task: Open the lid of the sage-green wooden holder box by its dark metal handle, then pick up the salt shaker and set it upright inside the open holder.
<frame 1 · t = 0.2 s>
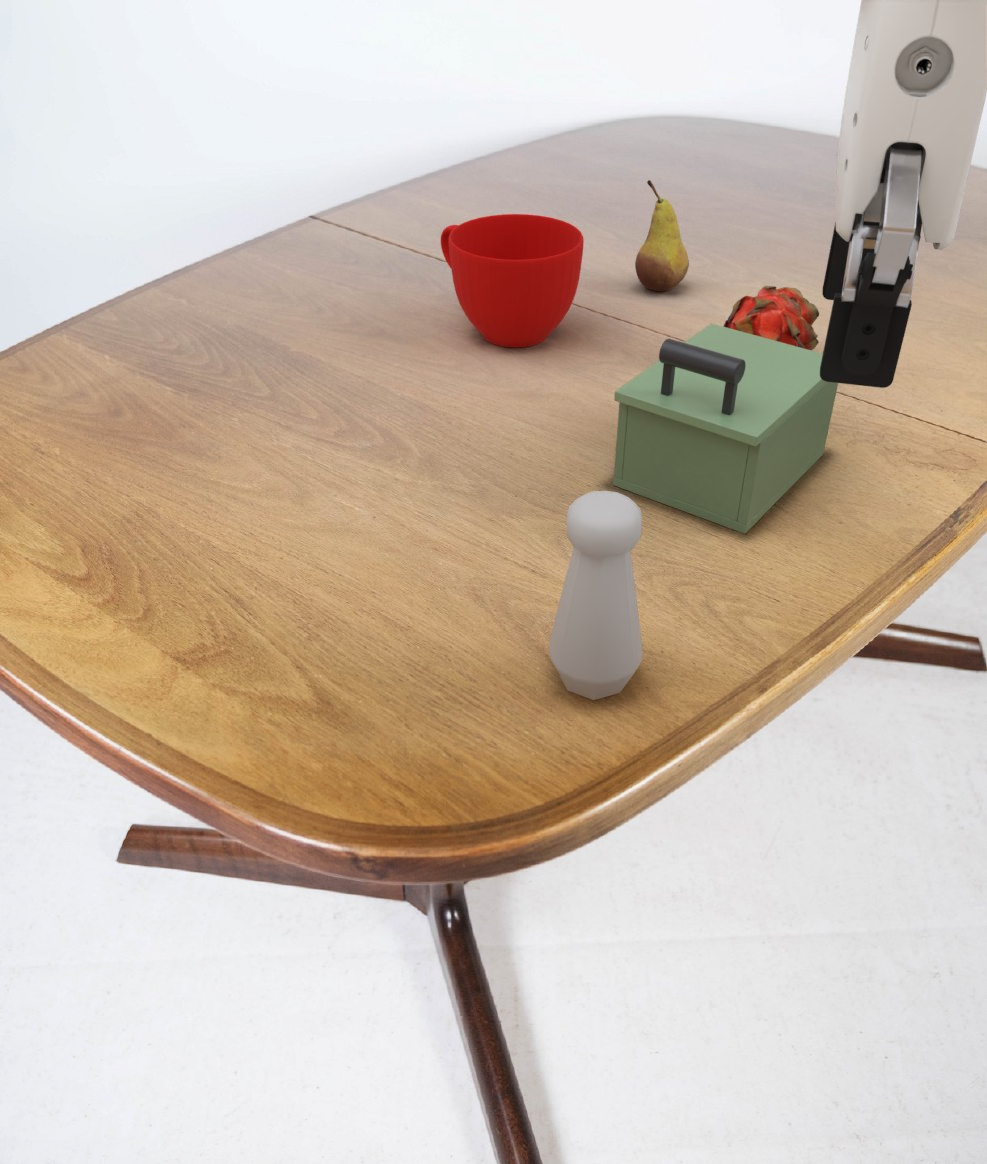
hand: (853, 338, 53), 23 cm above the table, tool pointing down, fingers open, 9 cm apart
salt shaker: (593, 680, 68), on the table
fruit: (659, 290, 119), on the table
holder: (720, 469, 88), on the table
dragon fruit: (764, 374, 102), on the table
lid: (735, 354, 81), point 10 cm above the table, hinge at 0.0°
ceramic cup: (501, 329, 110), on the table
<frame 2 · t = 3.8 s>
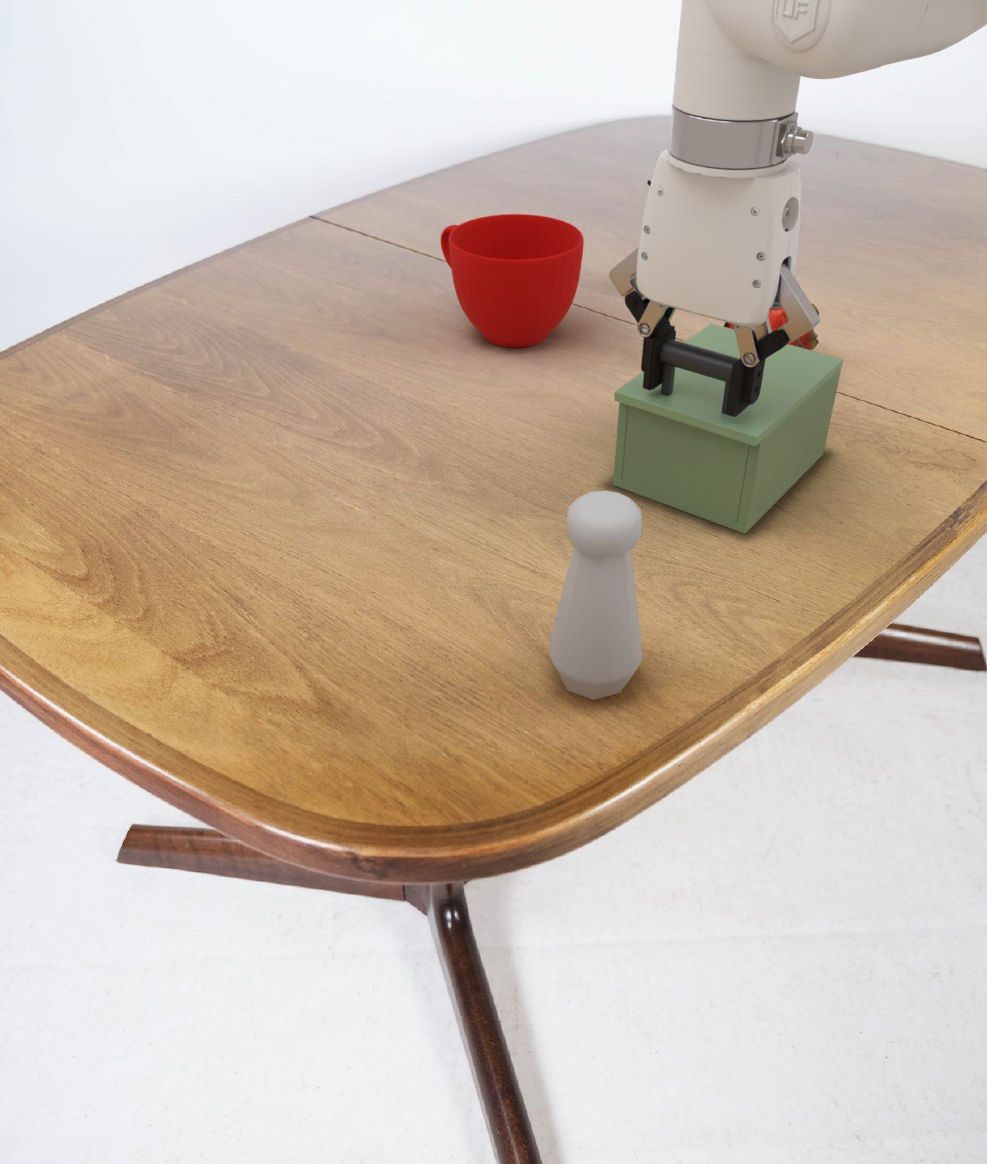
hand: (697, 393, 78), 9 cm above the table, tool pointing down, fingers closed on lid, 6 cm apart
lid: (735, 354, 81), point 10 cm above the table, hinge at 0.0°, touching gripper
everything else where it was.
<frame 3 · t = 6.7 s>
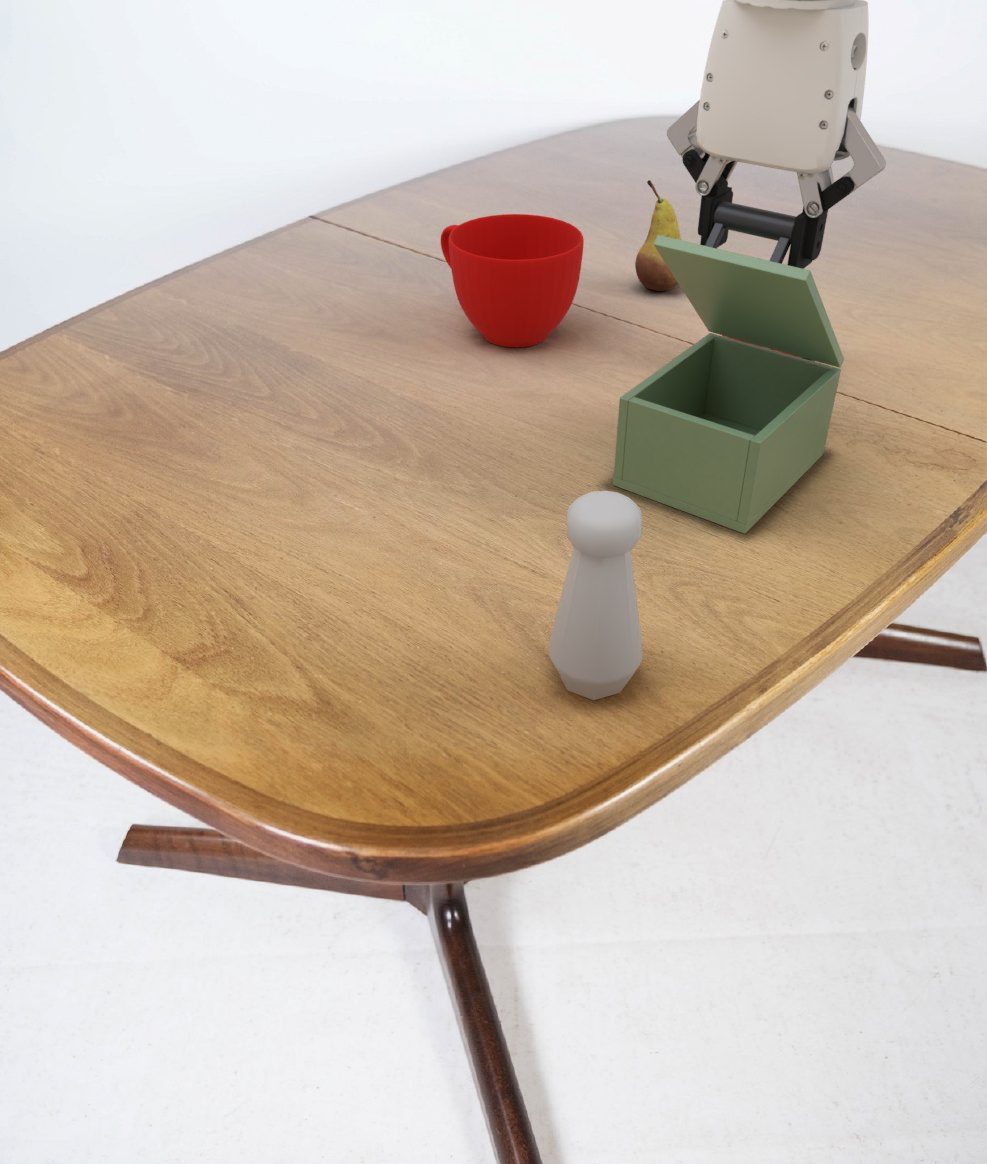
hand: (755, 254, 78), 18 cm above the table, tool pointing down, fingers closed on lid, 6 cm apart
lid: (765, 279, 81), point 15 cm above the table, hinge at 43.7°, touching gripper
everything else where it was.
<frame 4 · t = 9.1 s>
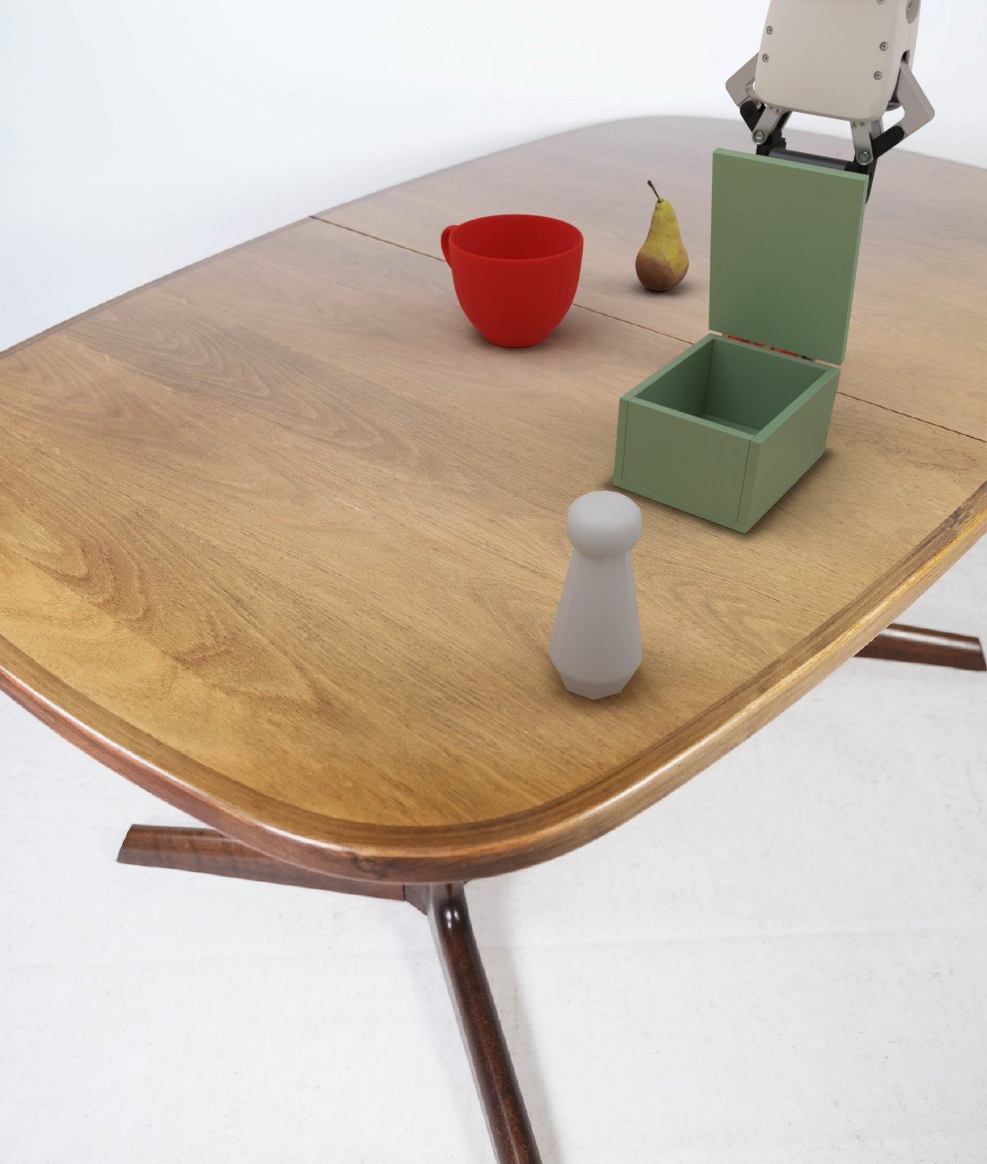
hand: (806, 202, 82), 19 cm above the table, tool pointing down, fingers closed on lid, 6 cm apart
lid: (793, 246, 83), point 16 cm above the table, hinge at 78.2°, touching gripper
everything else where it was.
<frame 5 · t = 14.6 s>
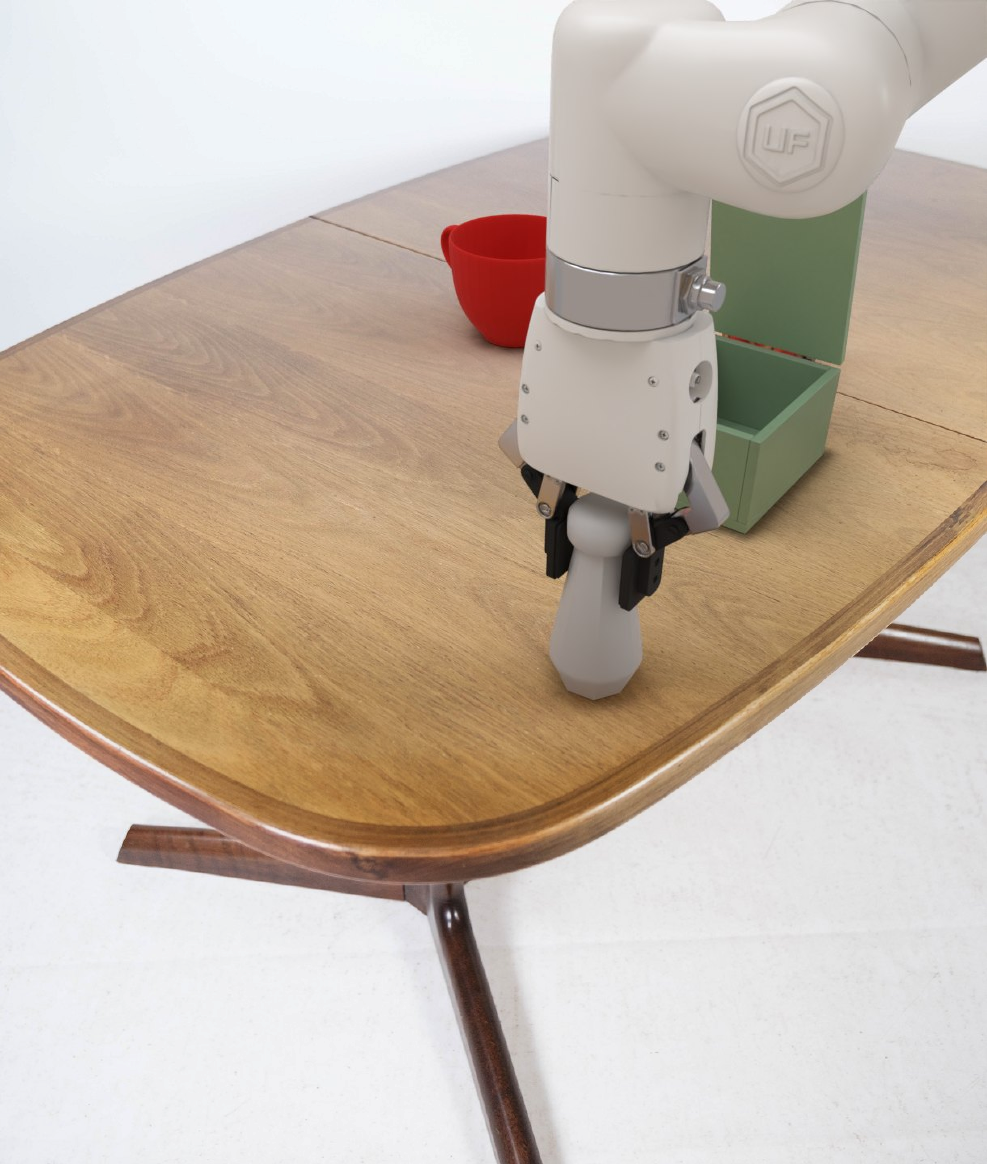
hand: (600, 579, 63), 8 cm above the table, tool pointing down, fingers closed on salt shaker, 4 cm apart
salt shaker: (593, 680, 68), on the table, touching gripper
lid: (793, 246, 83), point 16 cm above the table, hinge at 78.3°
everything else where it was.
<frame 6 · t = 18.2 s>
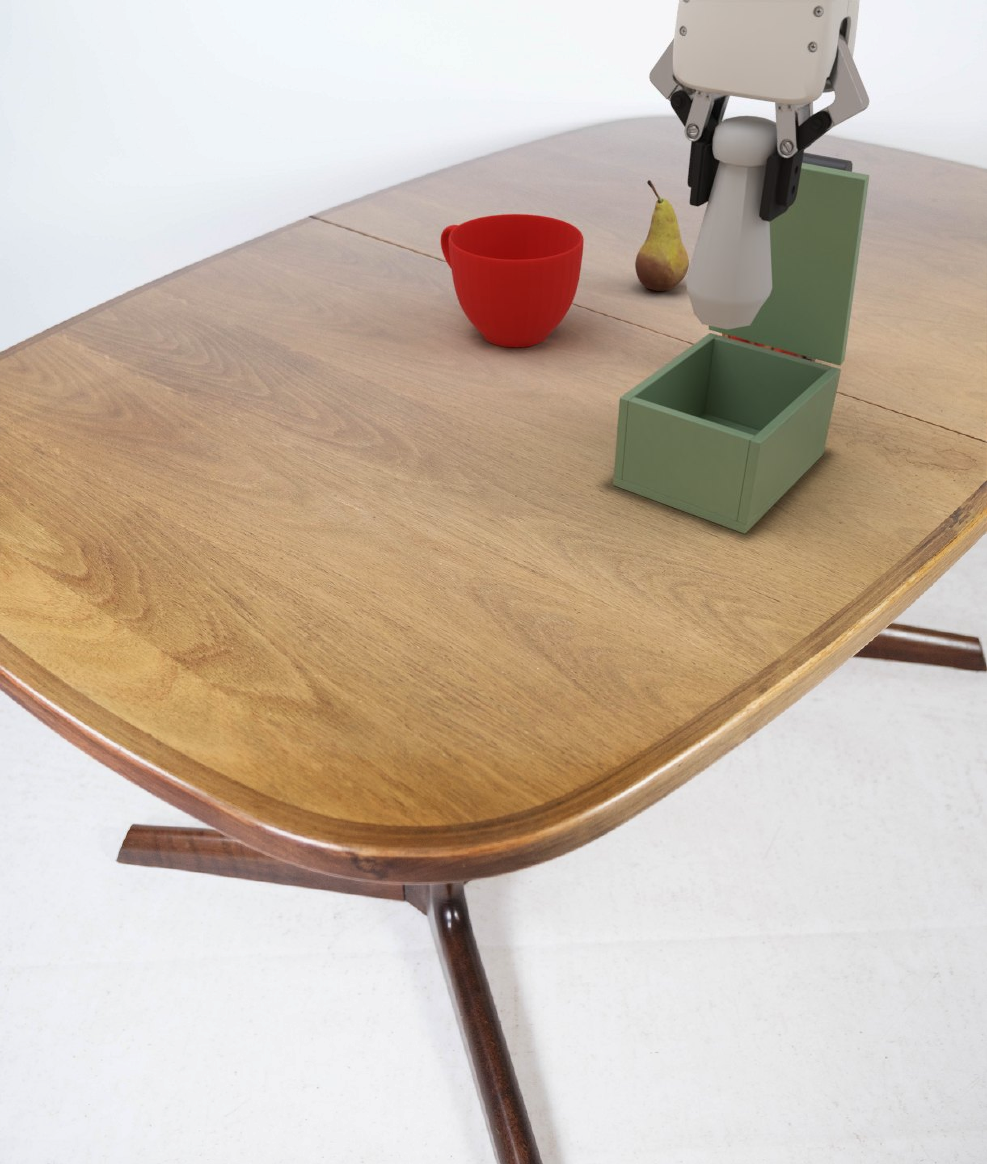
hand: (738, 205, 70), 23 cm above the table, tool pointing down, fingers closed on salt shaker, 4 cm apart
salt shaker: (723, 319, 75), point 15 cm above the table, touching gripper
everything else where it was.
when the fingers open (9 cm above the table, at t = 22.0 s): salt shaker stays where it is, resting on holder.
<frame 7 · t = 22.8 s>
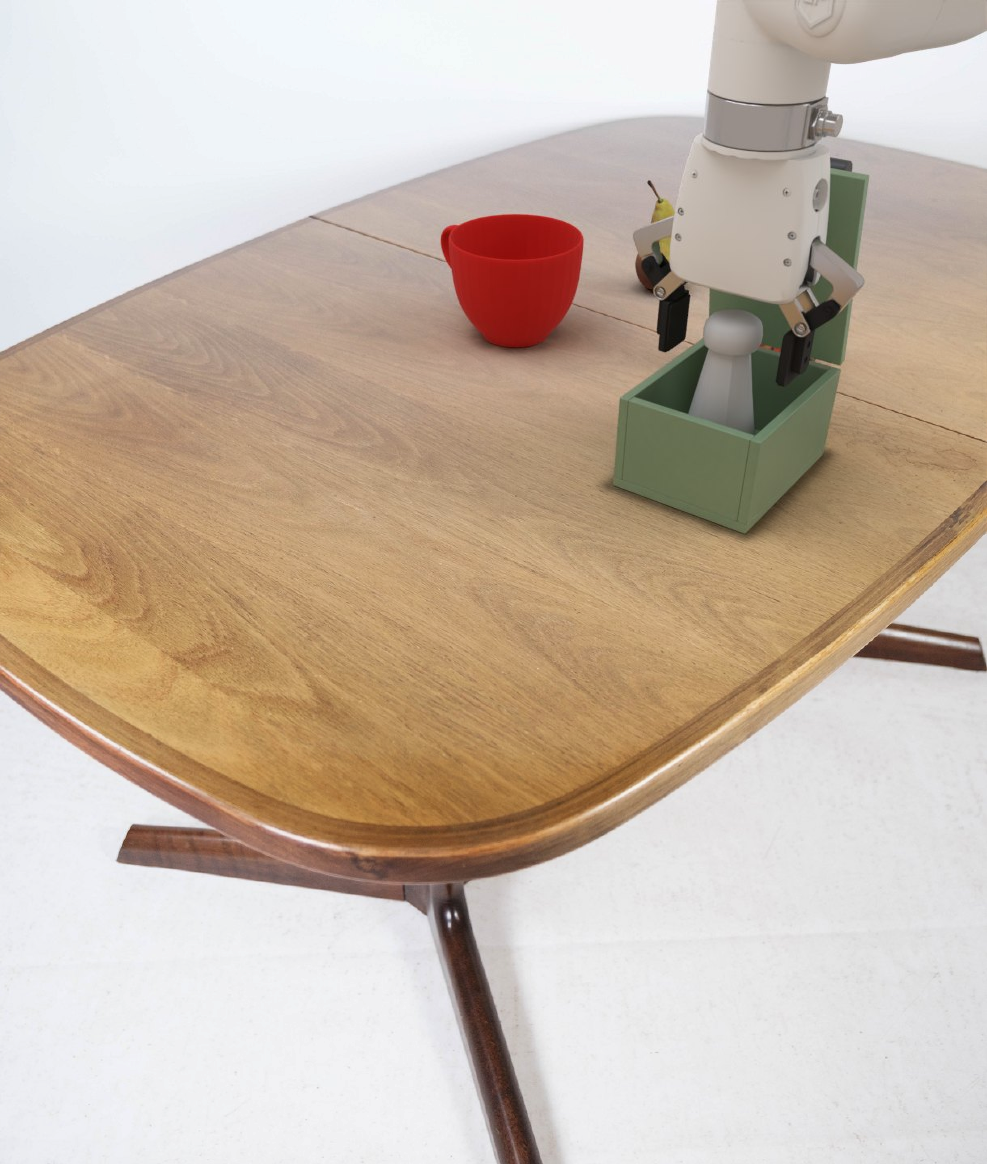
hand: (728, 362, 81), 10 cm above the table, tool pointing down, fingers open, 9 cm apart
salt shaker: (713, 471, 86), point 1 cm above the table, touching holder
everything else where it was.
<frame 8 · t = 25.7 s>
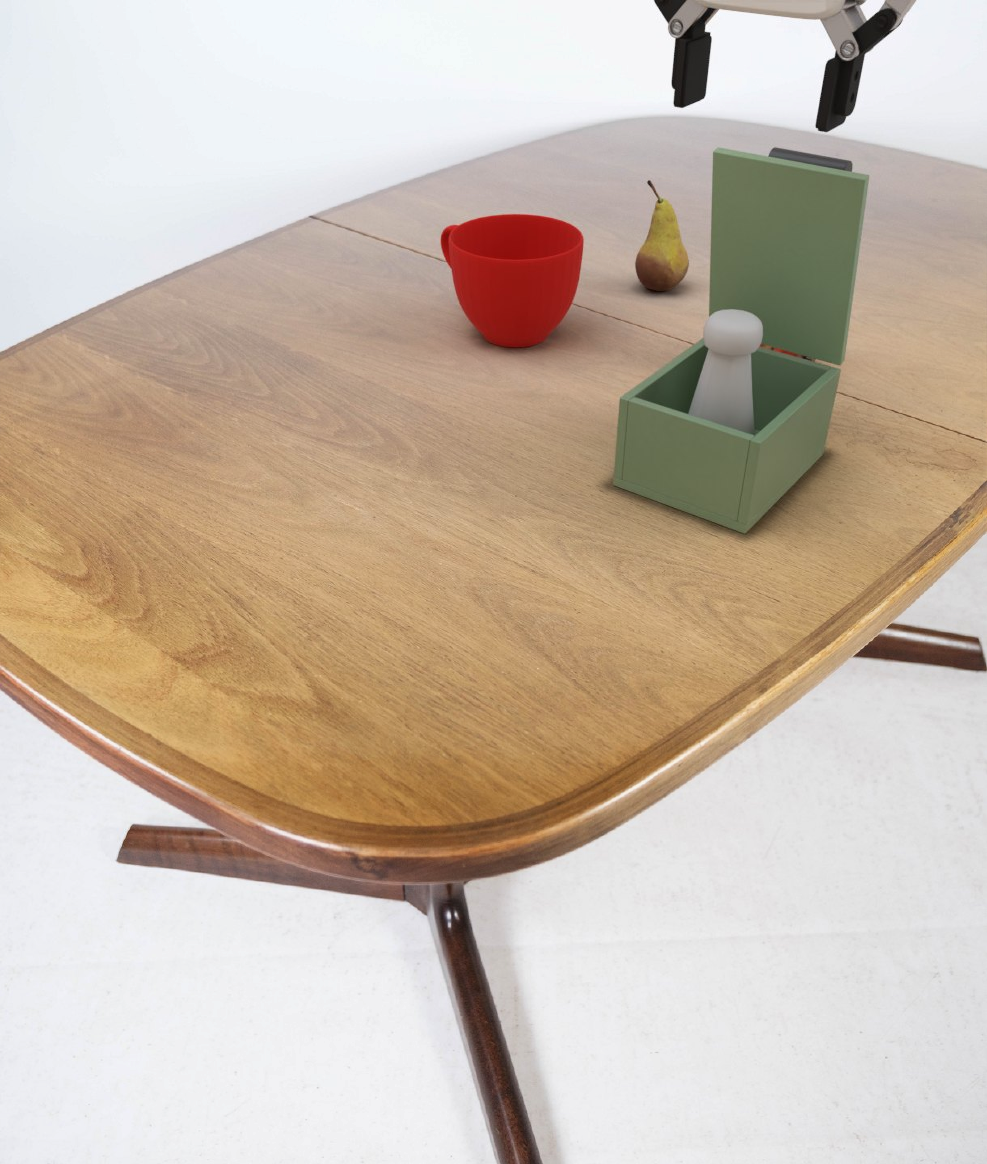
hand: (757, 114, 68), 28 cm above the table, tool pointing down, fingers open, 9 cm apart
nothing on the table moved.
at the end: lid at +78° (first picture: +0°); salt shaker inside the target area in the holder (1.6 cm from its centre), point 0.6 cm above the holder's base; salt shaker tilted 0° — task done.
